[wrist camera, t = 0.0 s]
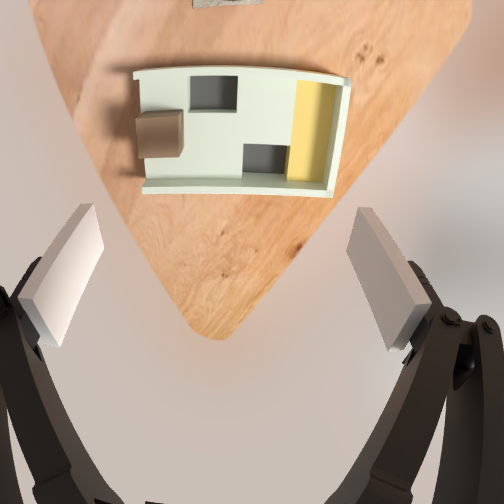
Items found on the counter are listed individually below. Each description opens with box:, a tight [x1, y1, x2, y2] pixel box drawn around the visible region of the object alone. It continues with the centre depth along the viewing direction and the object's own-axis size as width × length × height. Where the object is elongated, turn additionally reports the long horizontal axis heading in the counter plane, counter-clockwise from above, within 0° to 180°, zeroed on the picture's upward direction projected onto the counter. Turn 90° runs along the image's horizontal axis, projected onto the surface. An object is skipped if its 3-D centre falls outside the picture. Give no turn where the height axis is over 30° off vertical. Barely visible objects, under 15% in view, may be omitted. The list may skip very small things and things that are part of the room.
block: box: [135, 109, 184, 159], centre depth 34 cm, size 5×5×4 cm
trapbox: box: [133, 65, 352, 198], centre depth 36 cm, size 16×25×5 cm, turn 87°
